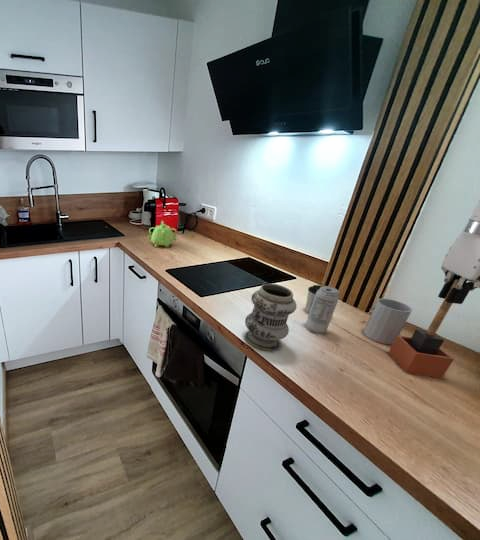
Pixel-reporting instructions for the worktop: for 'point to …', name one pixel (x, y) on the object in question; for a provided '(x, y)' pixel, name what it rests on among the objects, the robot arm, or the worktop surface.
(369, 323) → the grey cylindrical container
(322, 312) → the energy drink can
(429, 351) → the brush
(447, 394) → the worktop surface
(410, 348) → the holder
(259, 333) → the apothecary jar
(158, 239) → the teapot
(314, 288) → the coffee cup
